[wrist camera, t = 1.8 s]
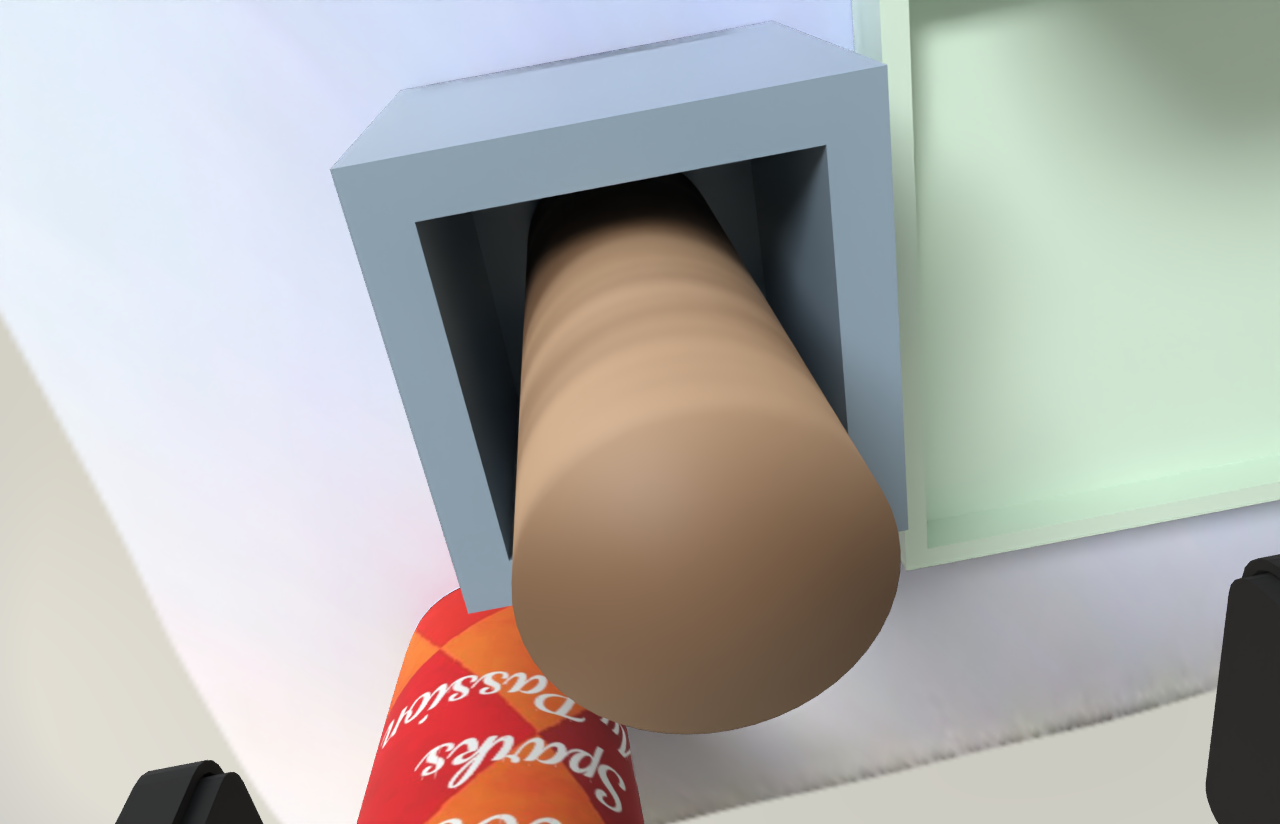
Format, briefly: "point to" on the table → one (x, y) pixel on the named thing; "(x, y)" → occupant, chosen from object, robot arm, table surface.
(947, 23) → the tray
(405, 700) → the coffee cup
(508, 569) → the deep square box
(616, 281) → the peg
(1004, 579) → the table surface
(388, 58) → the table surface
